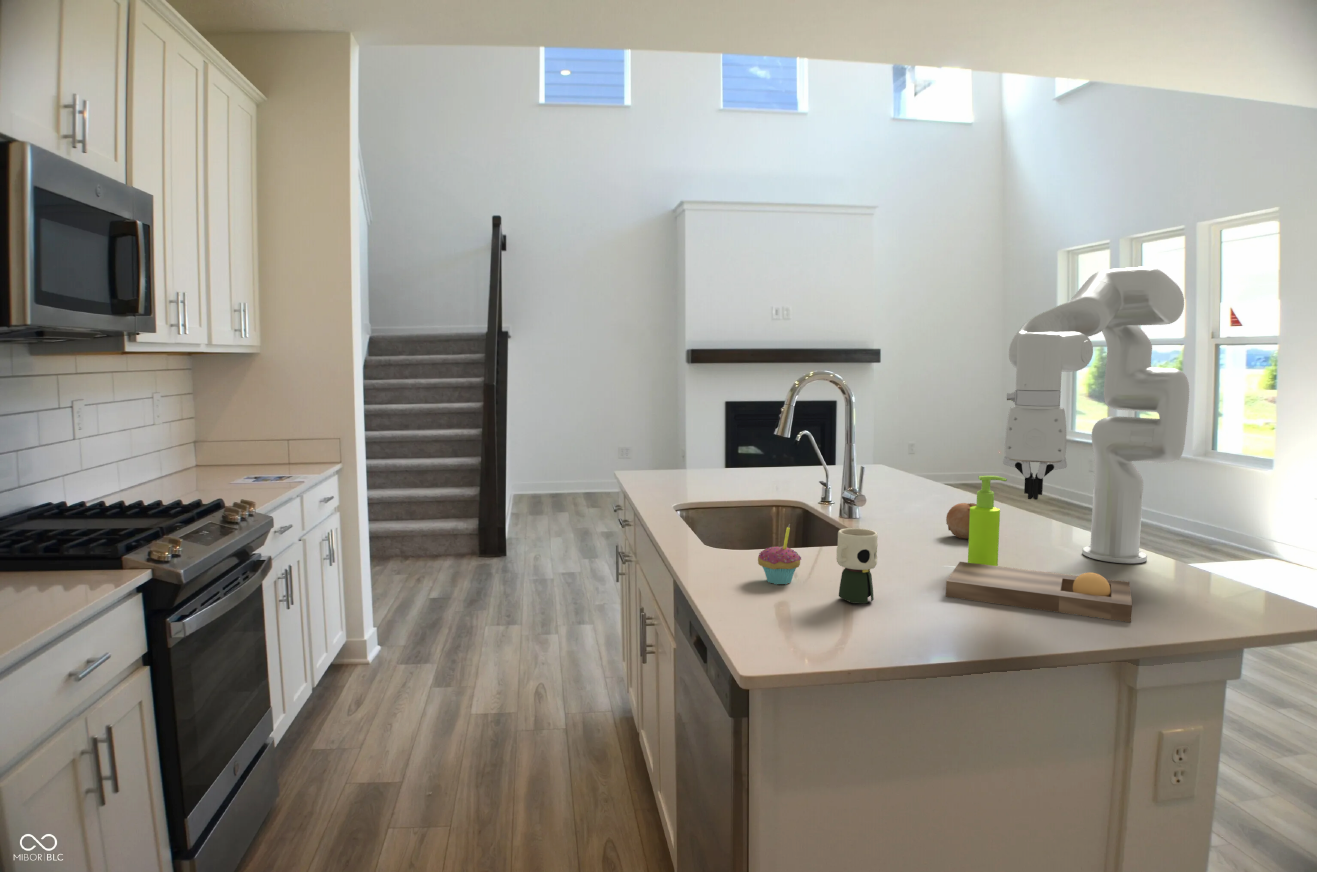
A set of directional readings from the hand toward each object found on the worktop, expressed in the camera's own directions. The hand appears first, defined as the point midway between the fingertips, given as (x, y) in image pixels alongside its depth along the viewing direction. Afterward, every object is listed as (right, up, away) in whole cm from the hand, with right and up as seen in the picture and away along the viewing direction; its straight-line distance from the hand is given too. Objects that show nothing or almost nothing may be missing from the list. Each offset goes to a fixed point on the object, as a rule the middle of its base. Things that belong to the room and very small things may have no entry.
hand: (1033, 498), depth 147 cm
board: (+1, -19, +1) cm, 19 cm away
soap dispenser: (-1, -17, +20) cm, 26 cm away
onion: (+7, -14, +49) cm, 52 cm away
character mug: (-33, -19, -1) cm, 39 cm away
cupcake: (-46, -18, +11) cm, 50 cm away
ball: (+9, -16, -4) cm, 19 cm away
